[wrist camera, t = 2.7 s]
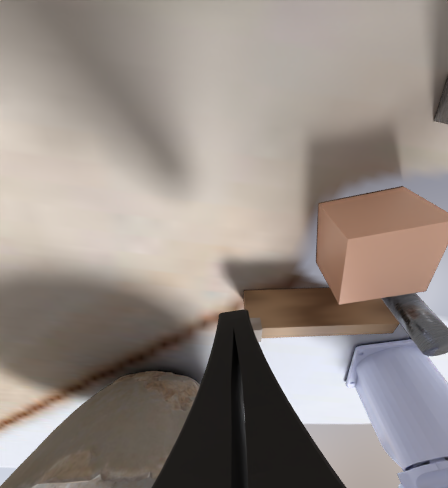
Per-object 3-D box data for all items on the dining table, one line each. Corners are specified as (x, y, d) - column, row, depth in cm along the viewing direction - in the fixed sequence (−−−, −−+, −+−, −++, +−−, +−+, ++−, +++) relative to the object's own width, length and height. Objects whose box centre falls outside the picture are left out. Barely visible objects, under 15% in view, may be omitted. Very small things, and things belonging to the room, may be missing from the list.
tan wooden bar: (372, 285, 19) (402, 324, 16) (366, 296, 19) (393, 336, 16) (243, 289, 18) (249, 330, 16) (243, 301, 19) (248, 341, 16)
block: (385, 249, 17) (425, 291, 13) (315, 261, 17) (338, 304, 14) (402, 186, 14) (459, 219, 11) (318, 202, 14) (348, 239, 11)
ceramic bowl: (66, 410, 32) (17, 521, 24) (52, 313, 20) (-62, 478, 12) (215, 423, 37) (215, 519, 29) (281, 351, 24) (313, 486, 16)
